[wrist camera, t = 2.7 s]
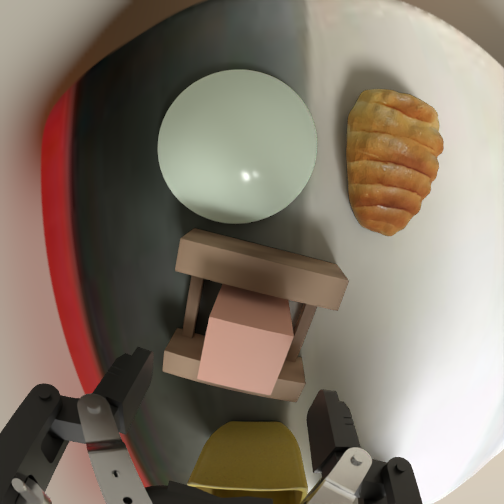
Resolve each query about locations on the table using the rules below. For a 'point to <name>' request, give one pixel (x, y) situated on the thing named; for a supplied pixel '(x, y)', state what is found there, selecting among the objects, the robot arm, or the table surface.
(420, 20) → the table surface
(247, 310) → the part
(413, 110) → the pastry
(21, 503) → the robot arm
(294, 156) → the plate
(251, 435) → the flower pot
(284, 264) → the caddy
